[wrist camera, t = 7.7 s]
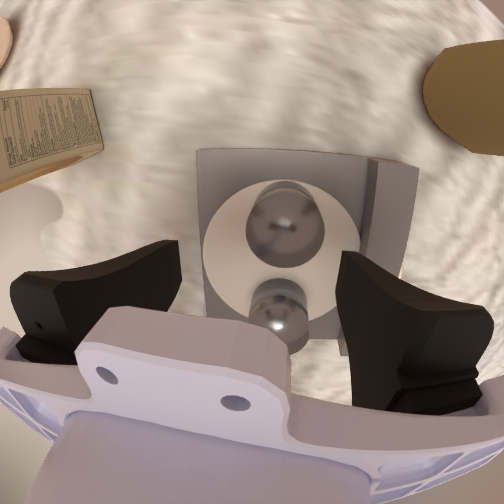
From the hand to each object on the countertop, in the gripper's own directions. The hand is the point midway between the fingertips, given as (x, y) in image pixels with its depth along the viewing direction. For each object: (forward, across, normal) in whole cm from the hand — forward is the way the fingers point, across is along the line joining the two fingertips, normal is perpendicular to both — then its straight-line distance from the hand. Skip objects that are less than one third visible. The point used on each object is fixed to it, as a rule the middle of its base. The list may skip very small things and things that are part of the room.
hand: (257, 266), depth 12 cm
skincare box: (+10, +17, -7) cm, 21 cm away
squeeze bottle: (+10, -14, -10) cm, 20 cm away
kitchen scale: (+9, -2, +4) cm, 10 cm away
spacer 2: (+8, -1, +7) cm, 11 cm away
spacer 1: (+8, -1, 0) cm, 8 cm away
